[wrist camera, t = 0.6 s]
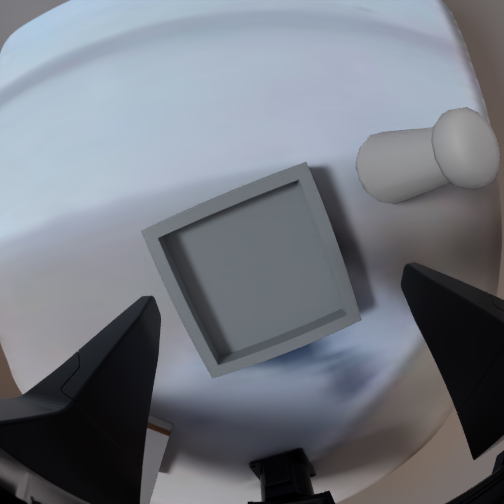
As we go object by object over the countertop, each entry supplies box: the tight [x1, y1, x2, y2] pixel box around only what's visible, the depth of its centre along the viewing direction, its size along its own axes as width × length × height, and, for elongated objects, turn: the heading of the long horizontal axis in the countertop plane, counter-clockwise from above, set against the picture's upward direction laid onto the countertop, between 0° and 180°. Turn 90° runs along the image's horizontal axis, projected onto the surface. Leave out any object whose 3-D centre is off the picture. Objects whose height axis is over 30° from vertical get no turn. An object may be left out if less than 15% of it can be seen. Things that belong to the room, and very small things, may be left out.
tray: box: [141, 162, 361, 378], centre depth 22 cm, size 13×13×2 cm
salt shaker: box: [356, 107, 500, 204], centre depth 16 cm, size 6×6×13 cm
